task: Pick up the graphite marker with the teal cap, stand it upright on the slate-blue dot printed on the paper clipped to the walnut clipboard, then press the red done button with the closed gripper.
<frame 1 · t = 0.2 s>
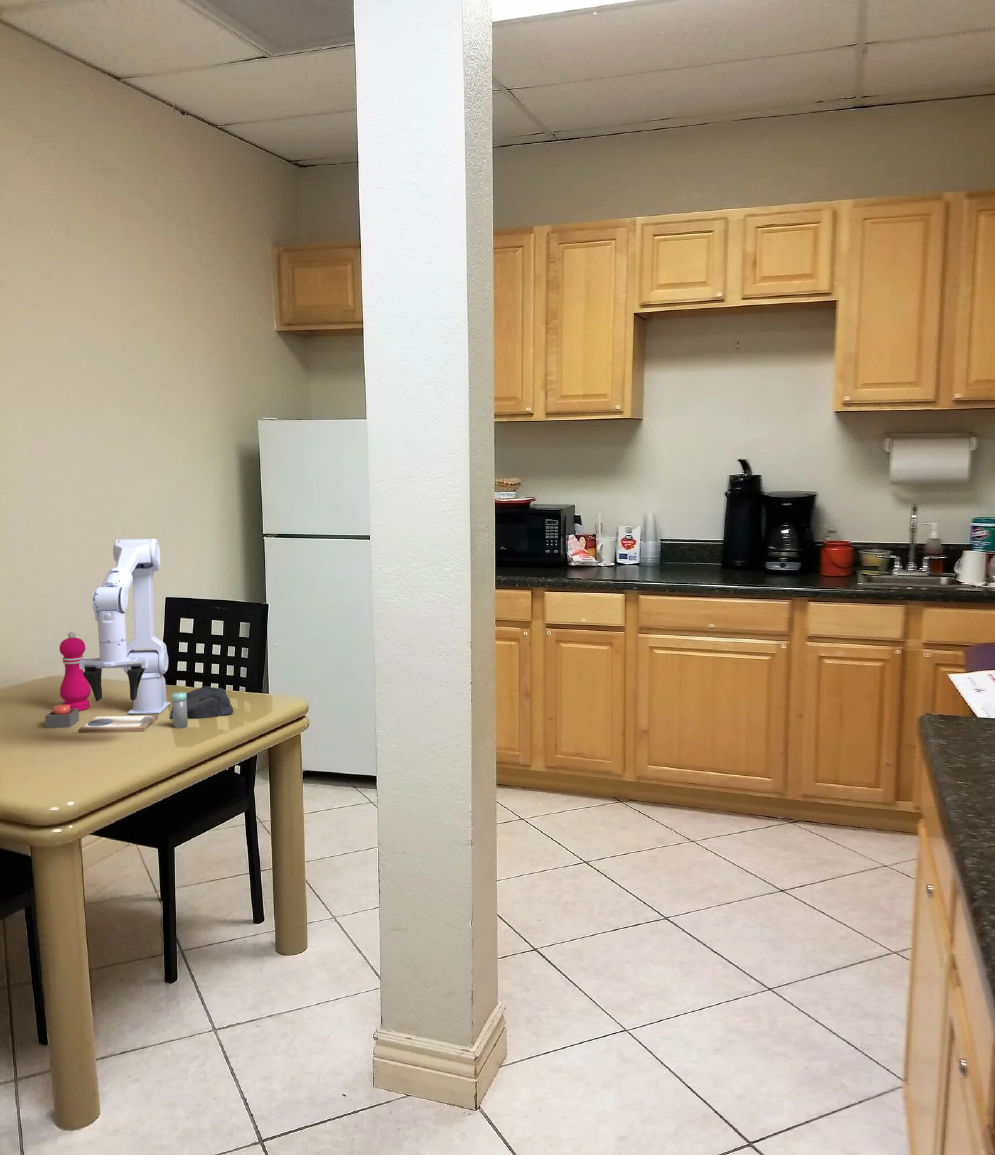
hand: (116, 699, 210), 10 cm above the table, tool pointing down, fingers open, 7 cm apart
dark slate chunk: (202, 709, 240), on the table
button box: (62, 724, 225), on the table
done button: (61, 710, 225), point 3 cm above the table, slide at 0.0 cm
clipboard: (119, 725, 224), on the table
pepper mill: (76, 709, 239), on the table
marker: (180, 726, 223), on the table
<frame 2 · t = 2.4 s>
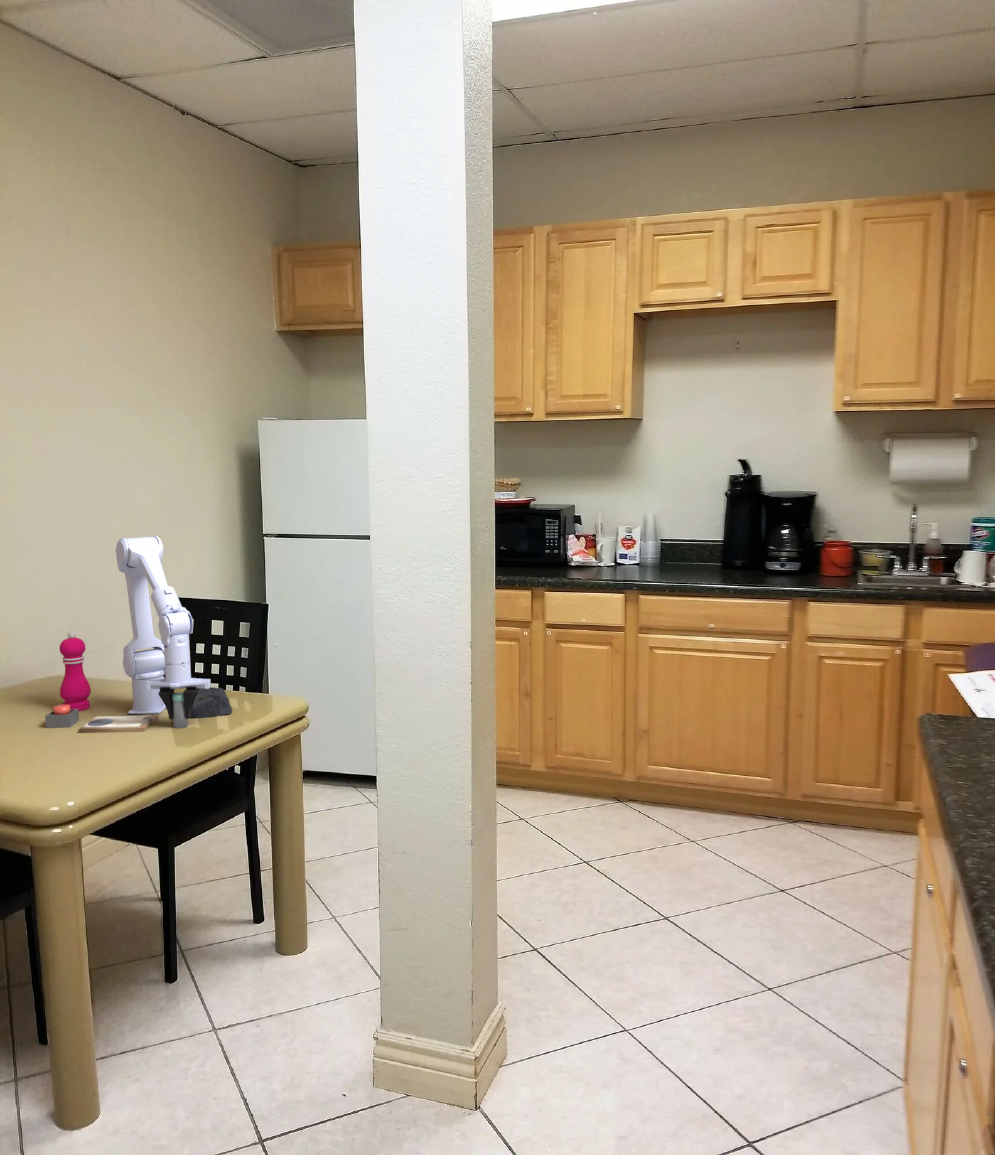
hand: (180, 718, 223), 2 cm above the table, tool pointing down, fingers closed on marker, 3 cm apart
marker: (180, 726, 223), on the table, touching gripper
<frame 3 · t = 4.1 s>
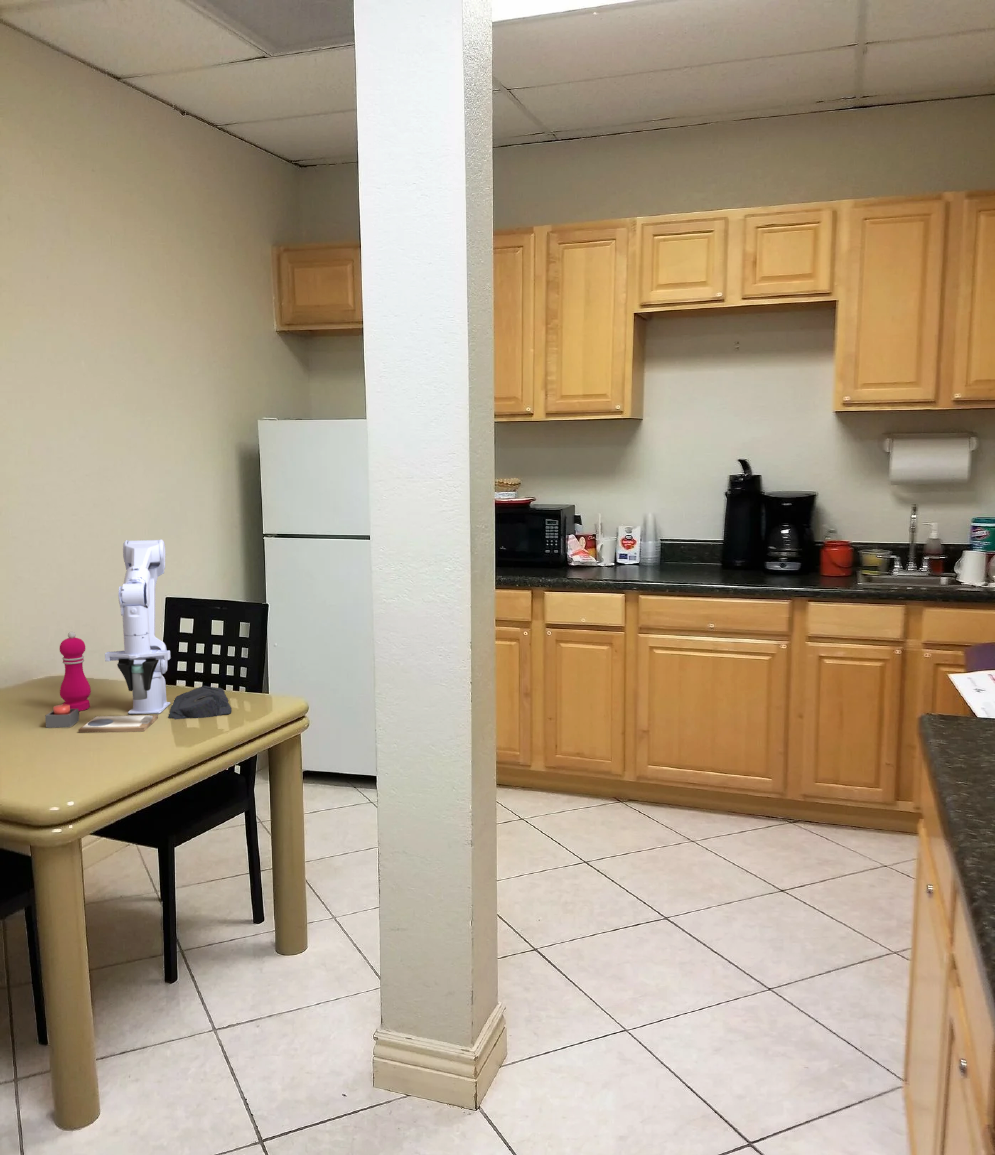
hand: (139, 689, 222), 9 cm above the table, tool pointing down, fingers closed on marker, 3 cm apart
marker: (140, 698, 222), point 7 cm above the table, touching gripper
everything else where it was.
when the fingers open (5 cm above the table, at t = 5.9 s): marker drops 1 cm, resting on clipboard.
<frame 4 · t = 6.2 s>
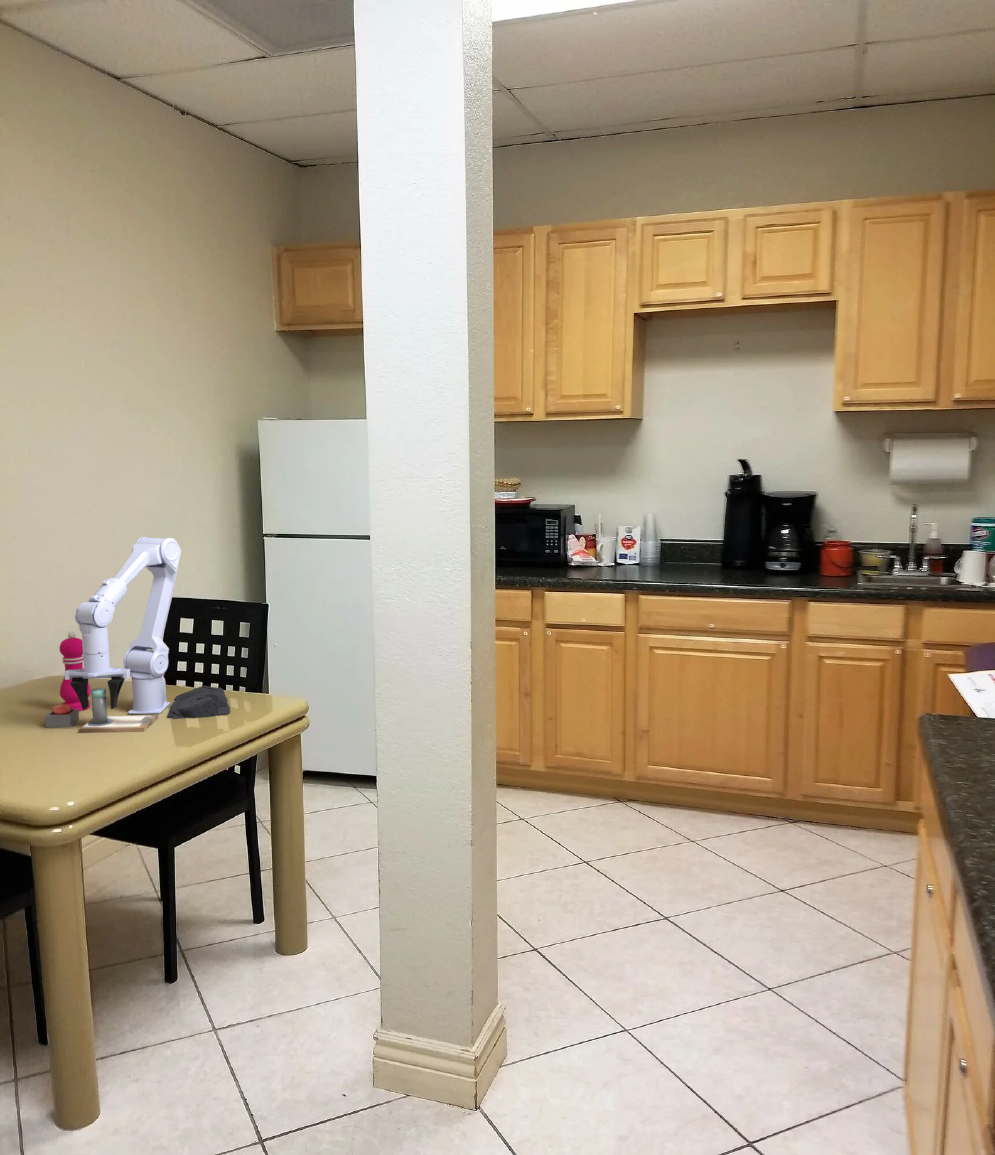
hand: (99, 708, 222), 5 cm above the table, tool pointing down, fingers open, 6 cm apart
marker: (100, 722, 223), point 1 cm above the table, touching clipboard
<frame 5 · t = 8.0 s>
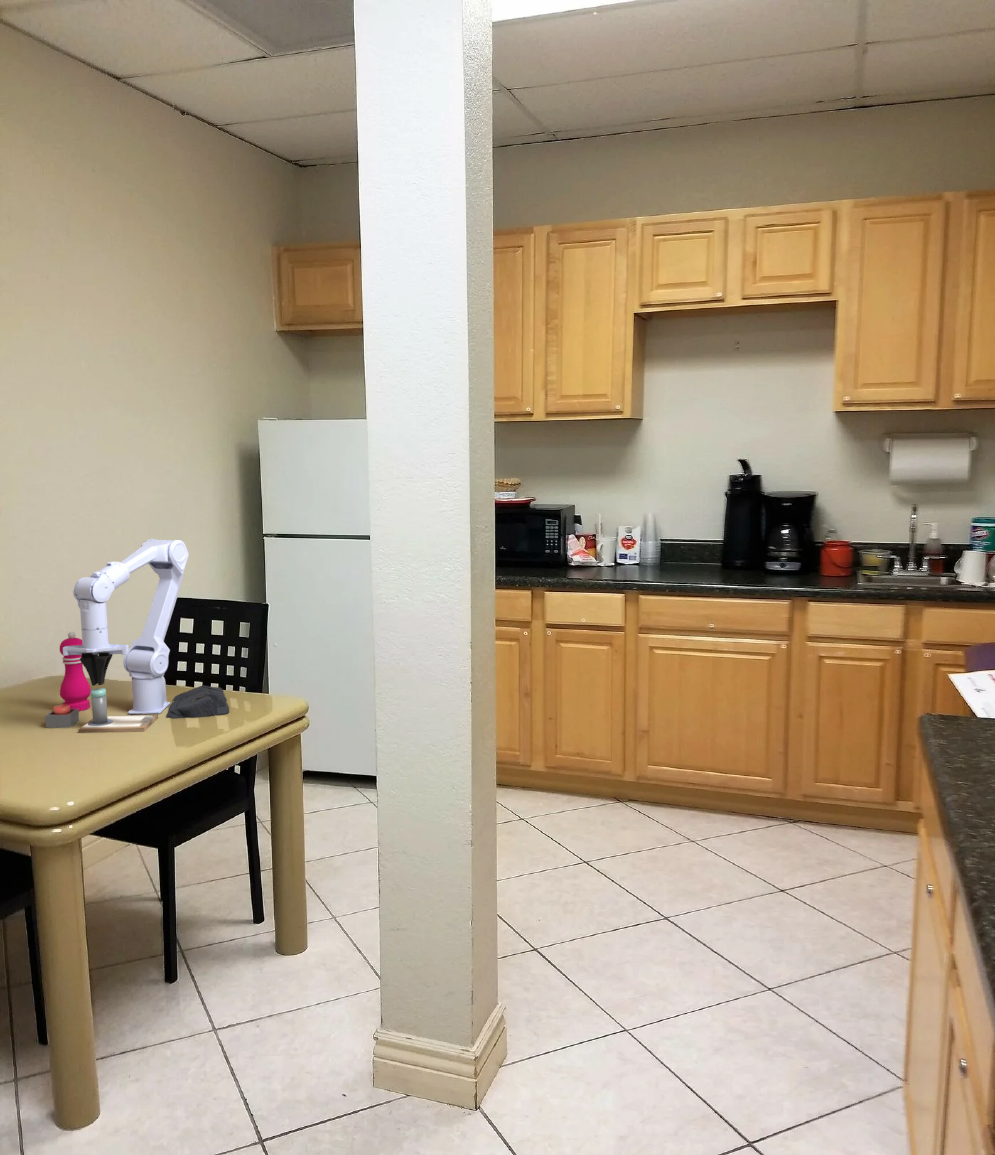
hand: (98, 684, 221), 10 cm above the table, tool pointing down, fingers closed
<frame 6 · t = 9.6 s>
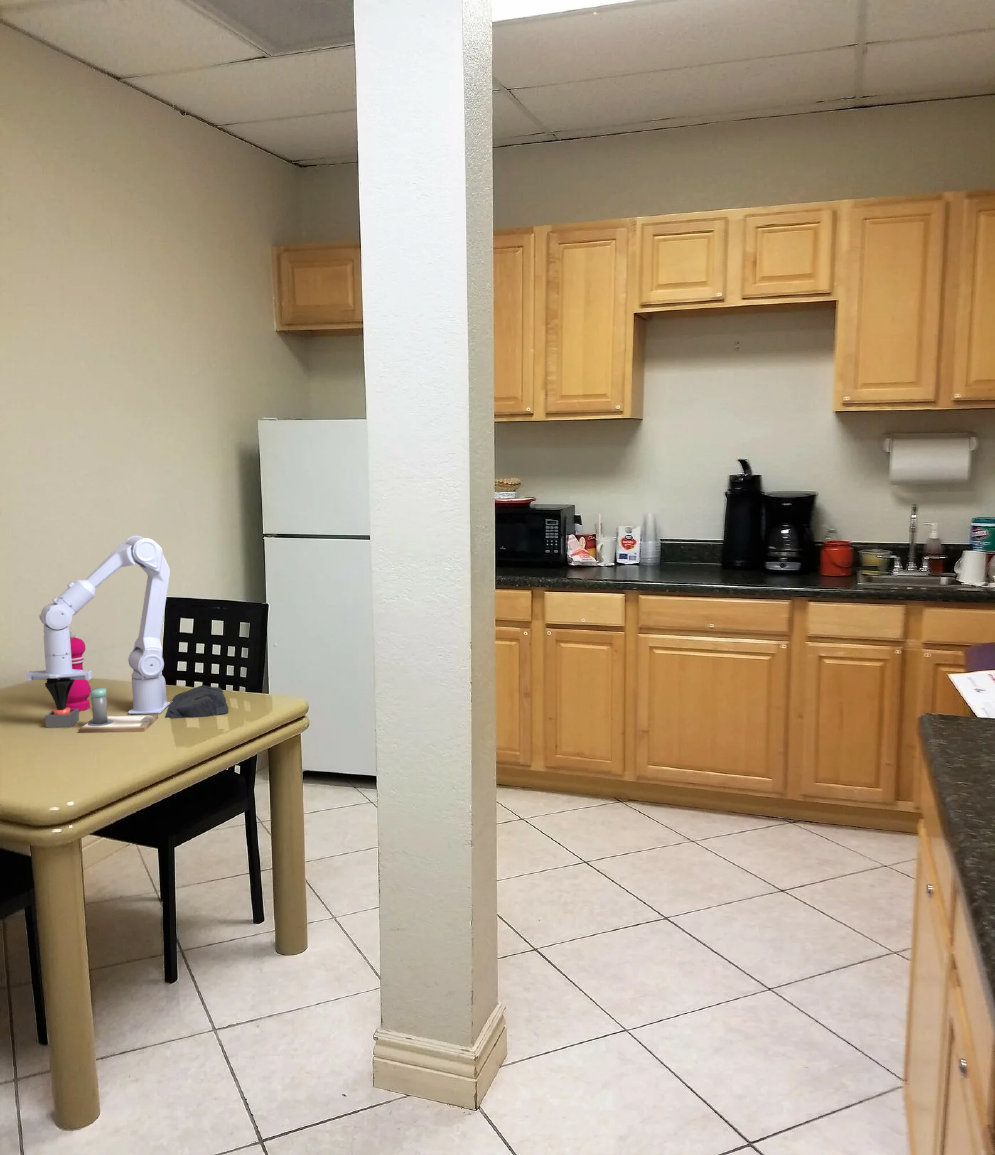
hand: (61, 709, 225), 4 cm above the table, tool pointing down, fingers closed, pressing on done button
done button: (62, 712, 225), point 3 cm above the table, slide at 0.6 cm, touching gripper
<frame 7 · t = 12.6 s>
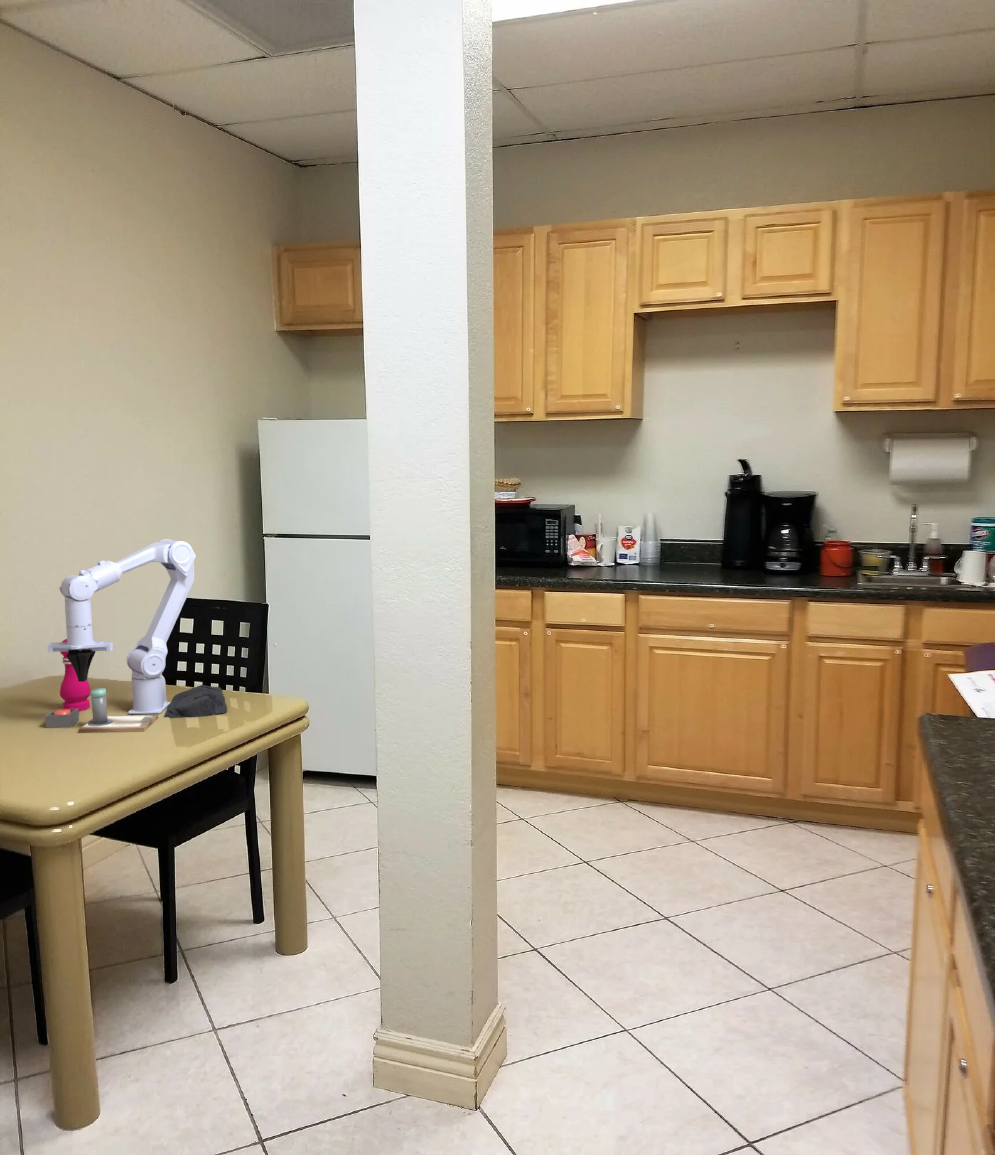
hand: (82, 680, 225), 10 cm above the table, tool pointing down, fingers closed
done button: (62, 714, 225), point 2 cm above the table, slide at 1.1 cm
at the end: marker 0.1 cm from the target spot on the clipboard, point 1.1 cm above the clipboard's base; marker tilted 0°; done button slide at 1.1 cm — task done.
